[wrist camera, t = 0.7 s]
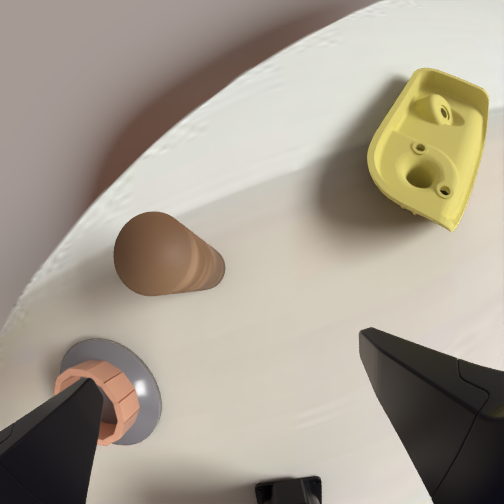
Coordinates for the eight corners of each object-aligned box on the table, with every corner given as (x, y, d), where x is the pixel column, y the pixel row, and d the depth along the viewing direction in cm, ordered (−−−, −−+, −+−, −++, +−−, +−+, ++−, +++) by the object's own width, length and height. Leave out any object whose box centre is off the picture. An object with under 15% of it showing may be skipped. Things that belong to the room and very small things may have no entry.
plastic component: (419, 63, 24) (498, 95, 19) (417, 109, 30) (485, 140, 25) (345, 176, 21) (463, 236, 16) (350, 223, 27) (439, 273, 22)
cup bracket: (172, 444, 23) (158, 468, 18) (80, 433, 23) (58, 450, 18) (150, 337, 24) (129, 347, 19) (56, 337, 24) (29, 344, 20)
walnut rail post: (227, 287, 24) (195, 292, 12) (185, 291, 24) (117, 299, 12) (222, 244, 25) (187, 205, 12) (180, 249, 25) (112, 218, 12)
